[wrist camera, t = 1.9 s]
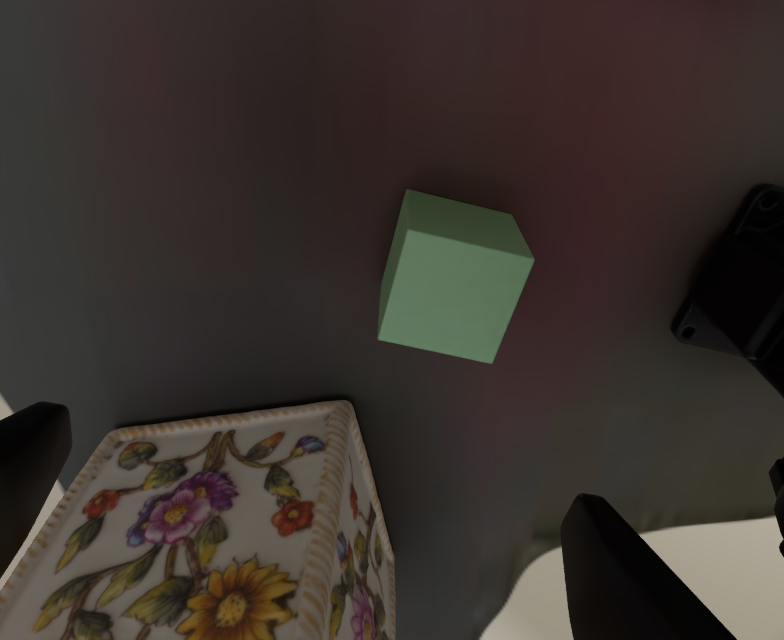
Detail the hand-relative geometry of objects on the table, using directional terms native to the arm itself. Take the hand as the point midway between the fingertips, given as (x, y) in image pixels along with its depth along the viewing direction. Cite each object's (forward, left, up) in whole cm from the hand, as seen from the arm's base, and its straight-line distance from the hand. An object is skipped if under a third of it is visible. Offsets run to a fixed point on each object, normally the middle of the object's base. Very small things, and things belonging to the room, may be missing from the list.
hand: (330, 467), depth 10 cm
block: (-3, 0, -12) cm, 13 cm away
